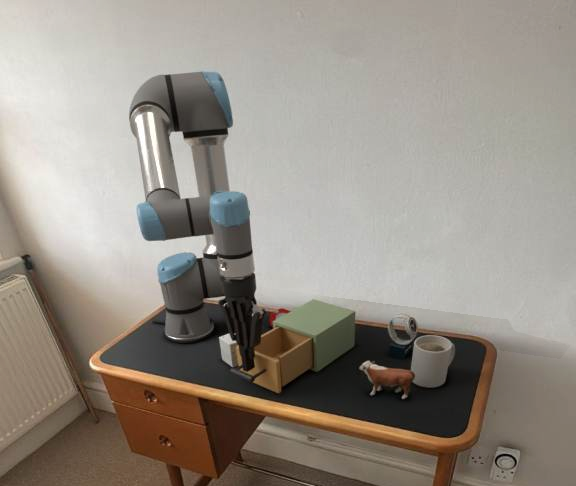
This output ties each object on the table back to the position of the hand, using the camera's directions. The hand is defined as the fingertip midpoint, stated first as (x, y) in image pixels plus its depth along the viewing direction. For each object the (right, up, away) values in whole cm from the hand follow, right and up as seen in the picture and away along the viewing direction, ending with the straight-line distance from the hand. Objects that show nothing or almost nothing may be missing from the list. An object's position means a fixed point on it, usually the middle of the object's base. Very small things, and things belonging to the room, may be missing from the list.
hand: (248, 368), depth 114 cm
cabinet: (+17, +8, +19) cm, 27 cm away
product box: (-5, +5, +17) cm, 19 cm away
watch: (+41, +7, +16) cm, 45 cm away
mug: (+46, -2, +5) cm, 47 cm away
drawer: (+6, -1, +8) cm, 10 cm away
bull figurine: (+33, -6, +1) cm, 34 cm away
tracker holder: (+10, +19, +34) cm, 40 cm away
